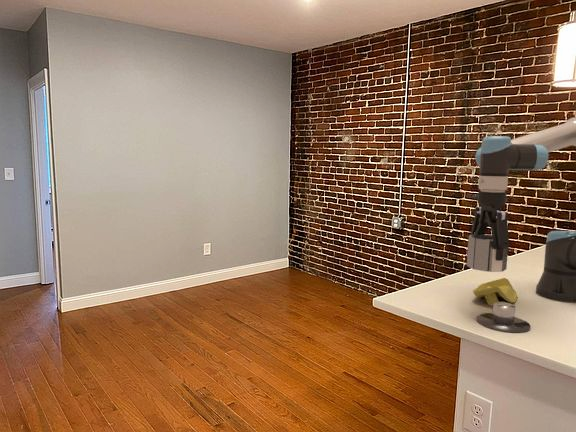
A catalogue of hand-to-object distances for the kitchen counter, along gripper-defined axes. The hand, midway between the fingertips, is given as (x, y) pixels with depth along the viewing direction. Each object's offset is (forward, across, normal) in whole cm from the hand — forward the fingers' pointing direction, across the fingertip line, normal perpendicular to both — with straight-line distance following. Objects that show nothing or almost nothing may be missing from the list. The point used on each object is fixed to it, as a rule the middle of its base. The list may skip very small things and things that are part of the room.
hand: (486, 266), depth 128 cm
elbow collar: (0, 0, 0) cm, 0 cm away
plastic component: (+16, -16, +12) cm, 26 cm away
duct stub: (+16, +5, +3) cm, 17 cm away
